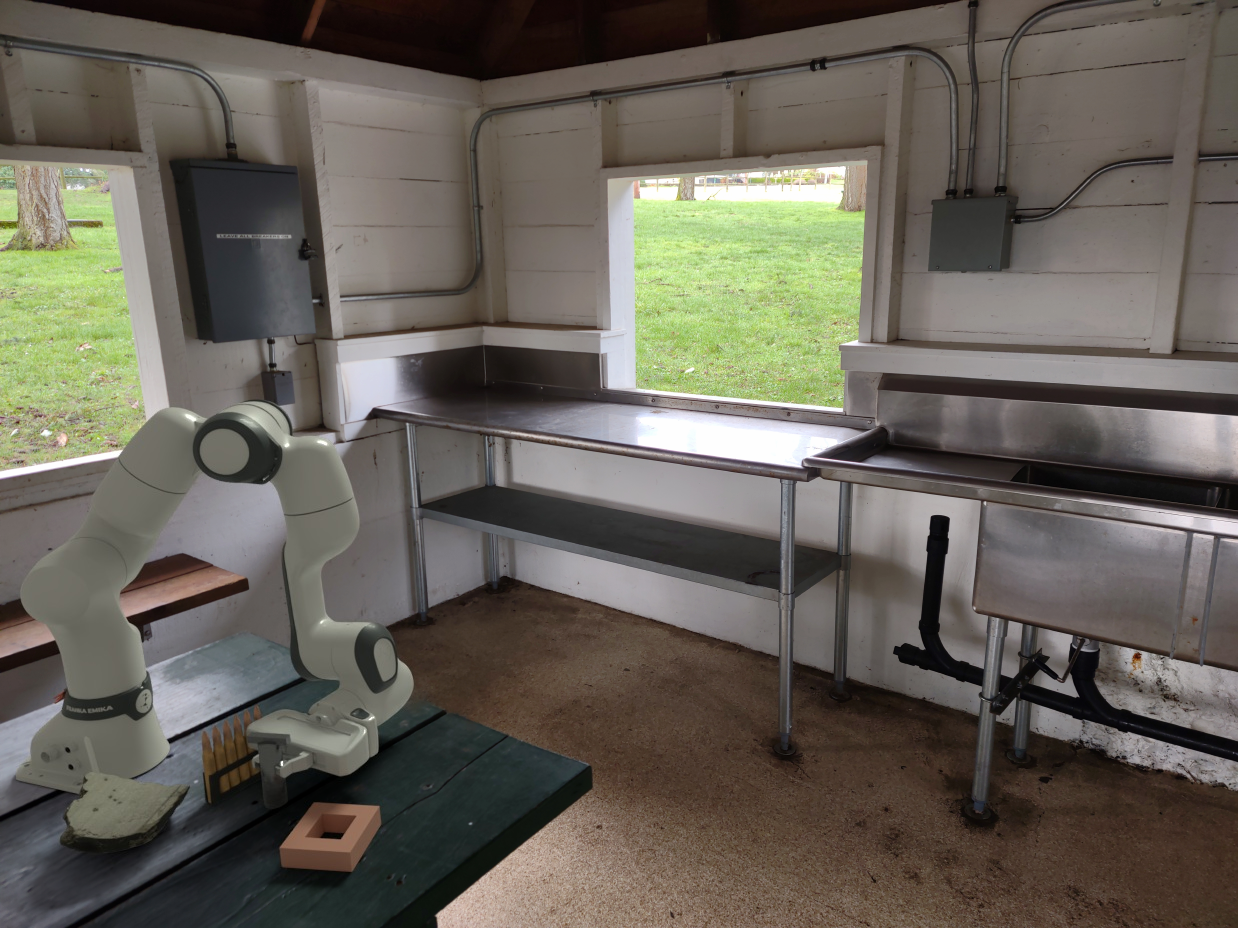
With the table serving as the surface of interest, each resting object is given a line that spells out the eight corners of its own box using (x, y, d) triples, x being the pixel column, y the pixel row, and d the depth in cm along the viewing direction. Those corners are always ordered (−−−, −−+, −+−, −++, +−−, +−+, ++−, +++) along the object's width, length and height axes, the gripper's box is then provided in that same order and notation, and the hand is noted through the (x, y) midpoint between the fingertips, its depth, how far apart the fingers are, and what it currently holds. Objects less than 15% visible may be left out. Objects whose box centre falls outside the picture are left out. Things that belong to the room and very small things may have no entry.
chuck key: (251, 806, 125) (243, 739, 122) (262, 793, 128) (255, 728, 125) (289, 809, 124) (282, 742, 121) (300, 796, 127) (293, 730, 125)
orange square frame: (281, 866, 115) (279, 847, 114) (316, 820, 125) (314, 802, 124) (352, 871, 114) (350, 852, 113) (381, 823, 124) (379, 805, 123)
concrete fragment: (202, 785, 130) (161, 784, 116) (175, 859, 126) (128, 867, 112) (110, 764, 130) (57, 760, 116) (79, 837, 126) (21, 842, 112)
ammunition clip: (212, 806, 129) (202, 735, 126) (205, 802, 130) (194, 731, 127) (273, 771, 137) (265, 703, 135) (266, 767, 138) (257, 700, 136)
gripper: (285, 692, 139) (214, 733, 127) (383, 718, 131) (317, 765, 119) (288, 726, 141) (219, 770, 129) (386, 755, 133) (321, 805, 120)
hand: (267, 768), depth 124 cm, fingers closed on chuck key, 3 cm apart
